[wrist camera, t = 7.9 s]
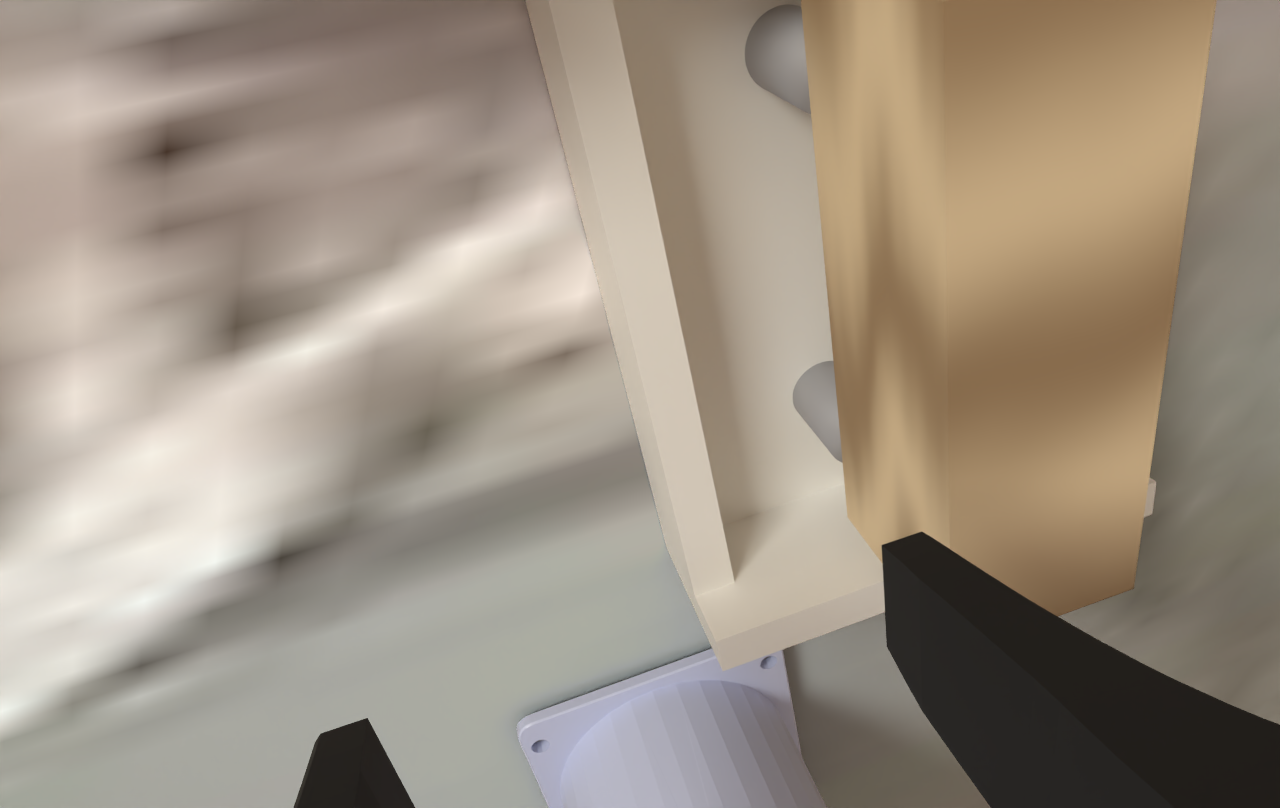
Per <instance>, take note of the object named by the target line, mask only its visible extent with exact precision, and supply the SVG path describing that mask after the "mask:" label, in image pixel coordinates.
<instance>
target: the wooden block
mask: <svg viewBox="0 0 1280 808" xmlns="http://www.w3.org/2000/svg"><path fill="white" fill-rule="evenodd" d="M1215 7H1216V0H801V9H802V20H803V31H804V42H805V53H806V64H807V75H808V86H809V97H810V108H811V119H812V130H813V141H814V152H815V163H816V175H817V186H818V197H819V208H820V219H821V230H822V241H823V252H824V263H825V274H826V285H827V296H828V307H829V318H830V329H831V340H832V351H833V362H834V373H835V384H836V395H837V407H838V418H839V429H840V440H841V451H842V462H843V473H844V484H845V495H846V506H847V517H848V518H849V520H850V521H851V522H852V524H853V525H854V526H855V528H856V529H857V530H858V532H859V533H860V534H861V536H862V537H863V538H864V540H865V541H866V542H867V544H868V545H869V546H870V548H871V549H872V550H873V552H874V553H875V554H876V556H877V557H878V558H879V560H880V561H881V562H882V545H883V544H886V543H889V542H892V541H895V540H898V539H901V538H904V537H907V536H910V535H913V534H916V533H919V532H924V533H925V534H927V535H929V536H931V537H932V538H934V539H935V540H937V541H938V542H940V543H941V544H943V545H944V546H946V547H948V548H949V549H951V550H952V551H954V552H955V553H957V554H958V555H960V556H961V557H963V558H964V559H966V560H967V561H969V562H971V563H972V564H974V565H975V566H977V567H978V568H980V569H981V570H983V571H984V572H986V573H988V574H989V575H991V576H992V577H994V578H995V579H997V580H999V581H1000V582H1002V583H1003V584H1005V585H1006V586H1008V587H1010V588H1011V589H1013V590H1014V591H1016V592H1018V593H1019V594H1021V595H1022V596H1024V597H1026V598H1027V599H1029V600H1031V601H1032V602H1034V603H1036V604H1037V605H1039V606H1041V607H1042V608H1044V609H1046V610H1047V611H1049V612H1051V613H1052V614H1054V615H1056V616H1060V615H1063V614H1065V613H1068V612H1071V611H1074V610H1076V609H1079V608H1082V607H1085V606H1087V605H1090V604H1093V603H1096V602H1098V601H1101V600H1104V599H1107V598H1109V597H1112V596H1115V595H1118V594H1120V593H1123V592H1126V591H1129V590H1131V589H1134V582H1135V575H1136V568H1137V561H1138V554H1139V547H1140V540H1141V533H1142V526H1143V519H1144V511H1145V504H1146V497H1147V490H1148V483H1149V476H1150V469H1151V462H1152V455H1153V448H1154V440H1155V433H1156V426H1157V419H1158V412H1159V405H1160V398H1161V391H1162V384H1163V377H1164V369H1165V362H1166V355H1167V348H1168V341H1169V334H1170V327H1171V320H1172V313H1173V306H1174V298H1175V291H1176V284H1177V277H1178V270H1179V263H1180V256H1181V249H1182V242H1183V235H1184V227H1185V220H1186V213H1187V206H1188V199H1189V192H1190V185H1191V178H1192V171H1193V164H1194V156H1195V149H1196V142H1197V135H1198V128H1199V121H1200V114H1201V107H1202V100H1203V93H1204V85H1205V78H1206V71H1207V64H1208V57H1209V50H1210V43H1211V36H1212V29H1213V22H1214V14H1215ZM882 564H883V563H882Z"/></svg>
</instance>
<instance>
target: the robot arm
mask: <svg viewBox="0 0 1280 808" xmlns="http://www.w3.org/2000/svg"><path fill="white" fill-rule="evenodd" d="M882 563H883V582H884V601H885V619H886V638H887V647H888V649H889V651H890V653H891V655H892V657H893V659H894V660H895V662H896V664H897V666H898V668H899V670H900V672H901V674H902V675H903V677H904V679H905V681H906V683H907V685H908V686H909V688H910V690H911V692H912V693H913V695H914V697H915V699H916V701H917V702H918V704H919V706H920V708H921V709H922V711H923V713H924V714H925V715H926V717H927V718H928V720H929V721H930V723H931V724H932V726H933V727H934V728H935V730H936V731H937V733H938V734H939V735H940V737H941V738H942V740H943V741H944V743H945V744H946V745H947V747H948V748H949V750H950V751H951V752H952V754H953V755H954V757H955V758H956V759H957V761H958V762H959V764H960V765H961V766H962V768H963V769H964V771H965V772H966V773H967V775H968V776H969V778H970V779H971V780H972V782H973V783H974V785H975V786H976V787H977V789H978V790H979V791H980V793H981V794H982V796H983V797H984V798H985V800H986V801H987V803H988V804H989V805H990V807H991V808H1280V725H1279V724H1276V723H1274V722H1271V721H1268V720H1266V719H1263V718H1261V717H1258V716H1256V715H1253V714H1251V713H1249V712H1246V711H1244V710H1241V709H1239V708H1237V707H1234V706H1232V705H1230V704H1227V703H1225V702H1223V701H1221V700H1218V699H1216V698H1214V697H1212V696H1210V695H1207V694H1205V693H1203V692H1201V691H1199V690H1196V689H1194V688H1192V687H1190V686H1188V685H1185V684H1183V683H1181V682H1179V681H1177V680H1174V679H1172V678H1170V677H1168V676H1166V675H1164V674H1162V673H1160V672H1158V671H1156V670H1154V669H1152V668H1150V667H1148V666H1146V665H1144V664H1142V663H1140V662H1138V661H1137V660H1135V659H1133V658H1131V657H1129V656H1127V655H1125V654H1123V653H1122V652H1120V651H1118V650H1116V649H1114V648H1112V647H1110V646H1108V645H1107V644H1105V643H1103V642H1101V641H1099V640H1097V639H1096V638H1094V637H1092V636H1090V635H1089V634H1087V633H1085V632H1083V631H1081V630H1080V629H1078V628H1076V627H1074V626H1073V625H1071V624H1069V623H1068V622H1066V621H1064V620H1063V619H1061V618H1059V617H1058V616H1056V615H1054V614H1052V613H1051V612H1049V611H1047V610H1046V609H1044V608H1042V607H1041V606H1039V605H1037V604H1036V603H1034V602H1032V601H1031V600H1029V599H1027V598H1026V597H1024V596H1022V595H1021V594H1019V593H1018V592H1016V591H1014V590H1013V589H1011V588H1010V587H1008V586H1006V585H1005V584H1003V583H1002V582H1000V581H999V580H997V579H995V578H994V577H992V576H991V575H989V574H988V573H986V572H984V571H983V570H981V569H980V568H978V567H977V566H975V565H974V564H972V563H971V562H969V561H967V560H966V559H964V558H963V557H961V556H960V555H958V554H957V553H955V552H954V551H952V550H951V549H949V548H948V547H946V546H944V545H943V544H941V543H940V542H938V541H937V540H935V539H934V538H932V537H931V536H929V535H927V534H925V533H924V532H919V533H916V534H913V535H910V536H907V537H904V538H901V539H898V540H895V541H892V542H889V543H886V544H883V545H882ZM768 656H769V657H768ZM766 657H767V658H766ZM764 658H766V659H764ZM516 728H517V735H518V740H519V742H520V745H521V747H522V749H523V751H524V754H525V756H526V758H527V760H528V762H529V765H530V767H531V769H532V771H533V774H534V776H535V778H536V780H537V783H538V785H539V787H540V789H541V792H542V794H543V796H544V798H545V800H546V803H547V805H548V807H549V808H827V807H826V805H825V803H824V801H823V799H822V797H821V795H820V793H819V791H818V789H817V787H816V785H815V783H814V781H813V779H812V777H811V775H810V773H809V771H808V769H807V767H806V764H805V762H804V760H803V758H802V754H801V748H800V743H799V737H798V731H797V726H796V720H795V715H794V709H793V704H792V698H791V692H790V687H789V681H788V676H787V670H786V665H785V659H784V653H783V650H780V651H777V652H775V653H772V654H769V655H766V656H764V657H761V658H758V659H756V660H753V661H750V662H747V663H745V664H742V665H739V666H736V667H734V668H731V669H728V670H726V671H722V669H721V667H720V664H719V662H718V660H717V658H716V656H715V653H714V651H713V649H712V648H711V649H709V650H706V651H703V652H700V653H698V654H695V655H692V656H689V657H687V658H684V659H681V660H678V661H676V662H673V663H670V664H667V665H665V666H662V667H659V668H656V669H654V670H651V671H648V672H645V673H642V674H640V675H637V676H634V677H631V678H629V679H626V680H623V681H620V682H618V683H615V684H612V685H609V686H607V687H604V688H601V689H598V690H596V691H593V692H590V693H587V694H585V695H582V696H579V697H576V698H574V699H571V700H568V701H565V702H563V703H560V704H557V705H554V706H551V707H549V708H546V709H543V710H540V711H538V712H535V713H532V714H529V715H527V716H526V717H524V718H522V719H521V720H520V721H519V722H518V725H517V727H516ZM538 740H542V741H538ZM536 741H538V742H536ZM294 808H415V807H414V805H413V803H412V801H411V799H410V797H409V795H408V793H407V792H406V790H405V788H404V786H403V784H402V782H401V780H400V778H399V777H398V775H397V773H396V771H395V769H394V767H393V765H392V763H391V761H390V760H389V758H388V756H387V754H386V752H385V750H384V748H383V746H382V745H381V743H380V741H379V739H378V737H377V735H376V733H375V731H374V730H373V728H372V726H371V724H370V722H369V720H368V718H366V719H363V720H360V721H357V722H354V723H351V724H348V725H345V726H342V727H339V728H336V729H333V730H330V731H327V732H324V733H321V734H320V736H319V737H318V739H317V740H316V742H315V744H314V747H313V751H312V754H311V757H310V760H309V763H308V766H307V769H306V772H305V775H304V778H303V781H302V784H301V787H300V790H299V793H298V796H297V799H296V802H295V805H294Z"/></svg>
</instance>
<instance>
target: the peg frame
mask: <svg viewBox="0 0 1280 808" xmlns="http://www.w3.org/2000/svg"><path fill="white" fill-rule="evenodd" d="M525 2H526V6H527V10H528V14H529V18H530V22H531V25H532V29H533V33H534V37H535V41H536V45H537V49H538V52H539V56H540V60H541V64H542V68H543V72H544V76H545V80H546V83H547V87H548V91H549V95H550V99H551V103H552V107H553V110H554V114H555V118H556V122H557V126H558V130H559V134H560V138H561V141H562V145H563V149H564V153H565V157H566V161H567V165H568V168H569V172H570V176H571V180H572V184H573V188H574V192H575V196H576V199H577V203H578V207H579V211H580V215H581V219H582V223H583V226H584V230H585V234H586V238H587V242H588V246H589V250H590V254H591V257H592V261H593V265H594V269H595V273H596V277H597V281H598V284H599V288H600V292H601V296H602V300H603V304H604V308H605V312H606V315H607V319H608V323H609V327H610V331H611V335H612V339H613V342H614V346H615V350H616V354H617V358H618V362H619V366H620V370H621V373H622V377H623V381H624V385H625V389H626V393H627V397H628V400H629V404H630V408H631V412H632V416H633V420H634V424H635V428H636V431H637V435H638V439H639V443H640V447H641V451H642V455H643V458H644V462H645V466H646V470H647V474H648V478H649V482H650V486H651V489H652V493H653V497H654V501H655V505H656V509H657V513H658V516H659V520H660V524H661V528H662V532H663V536H664V540H665V544H666V547H667V550H668V552H669V554H670V556H671V559H672V561H673V563H674V565H675V567H676V570H677V572H678V574H679V576H680V578H681V581H682V583H683V585H684V587H685V589H686V592H687V594H688V596H689V598H690V600H691V603H692V605H693V607H694V609H695V611H696V614H697V616H698V618H699V620H700V623H701V625H702V627H703V629H704V631H705V634H706V636H707V638H708V640H709V642H710V645H711V647H712V649H713V651H714V653H715V656H716V658H717V660H718V662H719V664H720V667H721V669H722V671H726V670H728V669H731V668H734V667H736V666H739V665H742V664H745V663H747V662H750V661H753V660H756V659H758V658H761V657H764V656H766V655H769V654H772V653H775V652H777V651H780V650H783V649H786V648H788V647H791V646H794V645H797V644H799V643H802V642H805V641H807V640H810V639H813V638H816V637H818V636H821V635H824V634H827V633H829V632H832V631H835V630H837V629H840V628H843V627H846V626H848V625H851V624H854V623H857V622H859V621H862V620H865V619H868V618H870V617H873V616H876V615H878V614H881V613H884V612H885V601H884V582H883V564H882V562H881V561H880V560H879V558H878V557H877V556H876V554H875V553H874V552H873V550H872V549H871V548H870V546H869V545H868V544H867V542H866V541H865V540H864V538H863V537H862V536H861V534H860V533H859V532H858V530H857V529H856V528H855V526H854V525H853V524H852V522H851V521H850V520H849V518H848V517H847V506H846V495H845V484H844V473H843V462H842V451H841V440H840V429H839V418H838V407H837V395H836V384H835V373H834V362H833V351H832V340H831V329H830V318H829V307H828V296H827V285H826V274H825V263H824V252H823V241H822V230H821V219H820V208H819V197H818V186H817V175H816V163H815V152H814V141H813V130H812V119H811V108H810V97H809V86H808V75H807V64H806V53H805V42H804V31H803V20H802V9H801V0H525ZM1155 489H1156V482H1155V481H1154V480H1153V479H1152V478H1150V477H1149V483H1148V490H1147V497H1146V504H1145V511H1144V517H1146V516H1149V515H1152V512H1153V504H1154V496H1155Z"/></svg>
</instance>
